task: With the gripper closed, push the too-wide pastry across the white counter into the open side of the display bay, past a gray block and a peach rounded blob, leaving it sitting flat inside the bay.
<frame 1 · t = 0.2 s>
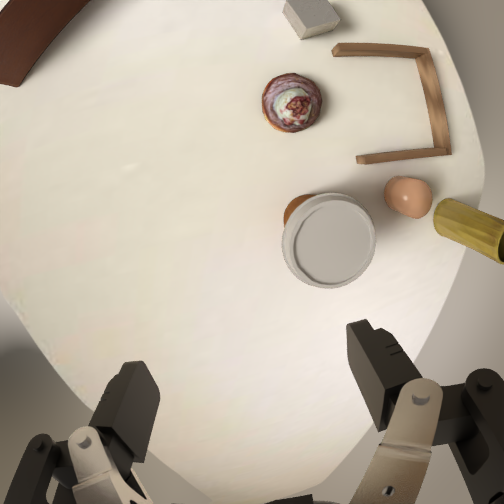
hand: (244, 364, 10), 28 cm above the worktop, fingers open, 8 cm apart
letter holder: (44, 28, 26), on the worktop
display bay: (390, 102, 32), on the worktop
pastry: (290, 103, 33), on the worktop
peach rounded blob: (399, 193, 37), on the worktop
gray block: (307, 21, 29), on the worktop
vase: (446, 216, 38), on the worktop
disposable coffee cup: (306, 218, 38), on the worktop
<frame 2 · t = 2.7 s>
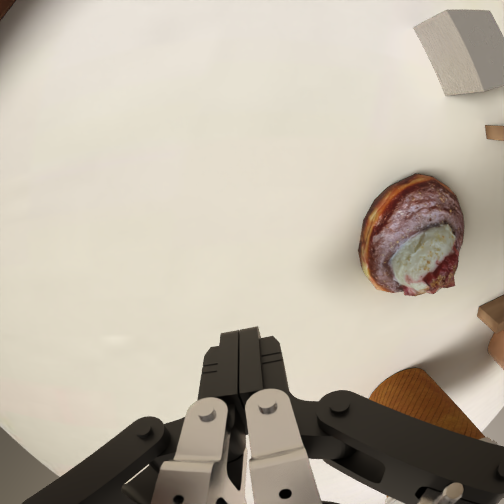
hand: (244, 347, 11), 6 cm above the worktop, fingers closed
pastry: (405, 230, 17), on the worktop
peach rounded blob: (503, 336, 21), on the worktop
gray block: (451, 56, 12), on the worktop
disposable coffee cup: (397, 391, 22), on the worktop
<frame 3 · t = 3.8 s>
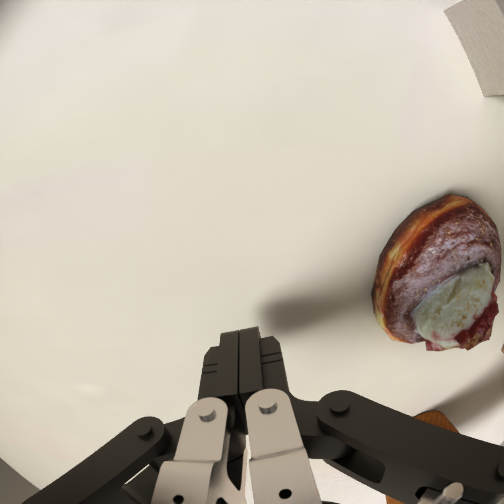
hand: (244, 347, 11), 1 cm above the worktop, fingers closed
pastry: (430, 265, 13), on the worktop
gray block: (487, 49, 8), on the worktop
disposable coffee cup: (410, 433, 18), on the worktop
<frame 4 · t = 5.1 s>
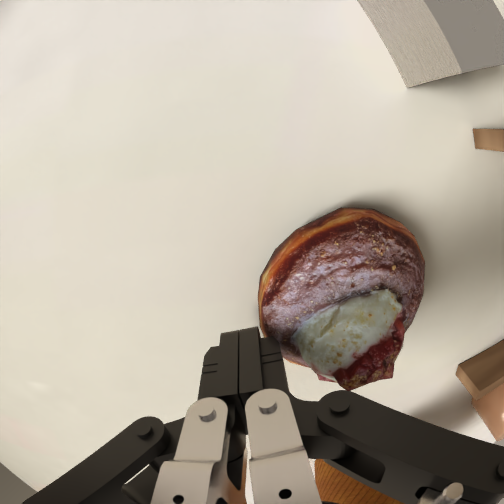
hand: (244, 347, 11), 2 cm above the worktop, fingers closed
pastry: (336, 285, 13), on the worktop
peach rounded blob: (491, 385, 17), on the worktop
gray block: (418, 32, 9), on the worktop
disposable coffee cup: (352, 452, 18), on the worktop
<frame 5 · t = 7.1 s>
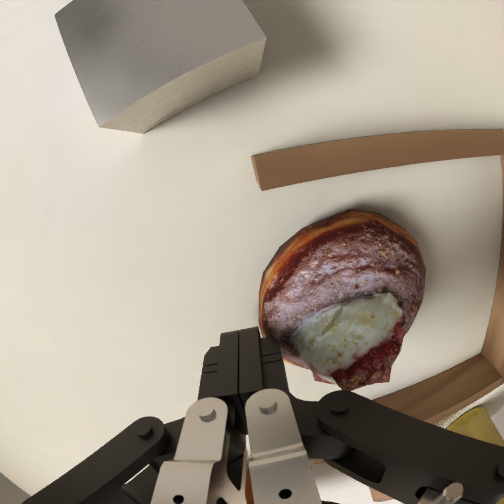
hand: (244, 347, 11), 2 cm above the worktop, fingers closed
display bay: (420, 296, 13), on the worktop
pastry: (337, 287, 13), on the worktop, touching gripper
gray block: (173, 54, 9), on the worktop
vase: (459, 425, 19), on the worktop
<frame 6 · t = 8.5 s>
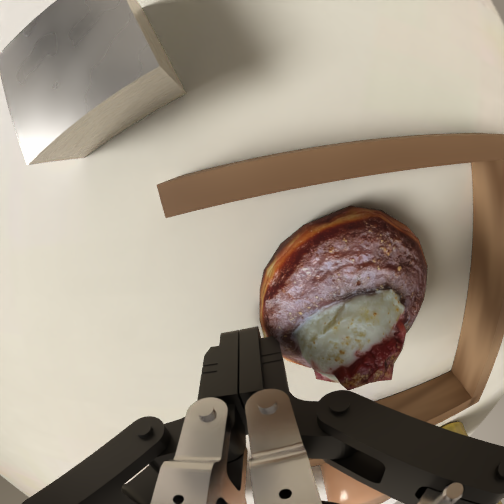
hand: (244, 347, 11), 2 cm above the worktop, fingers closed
display bay: (371, 314, 13), on the worktop
pastry: (338, 284, 13), on the worktop
peach rounded blob: (350, 450, 17), on the worktop
gray block: (110, 78, 9), on the worktop
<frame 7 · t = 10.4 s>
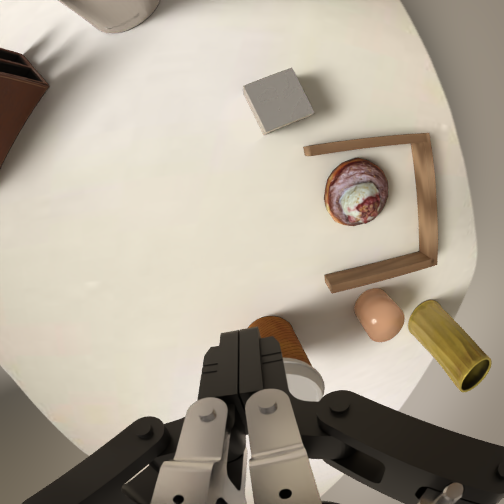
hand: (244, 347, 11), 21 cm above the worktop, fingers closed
letter holder: (1, 125, 26), on the worktop
display bay: (372, 207, 32), on the worktop
pastry: (353, 191, 31), on the worktop
peach rounded blob: (371, 305, 36), on the worktop
gray block: (275, 105, 28), on the worktop
vase: (423, 317, 37), on the worktop
disposable coffee cup: (269, 335, 37), on the worktop
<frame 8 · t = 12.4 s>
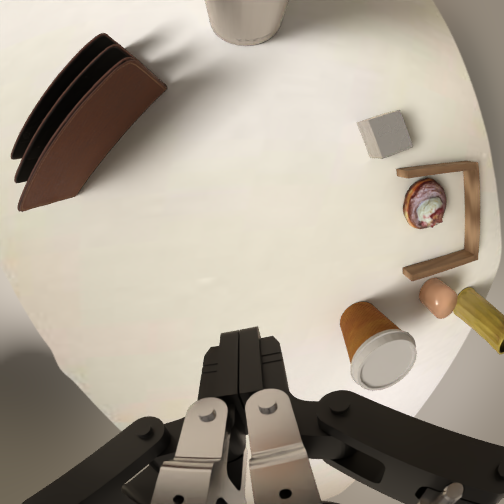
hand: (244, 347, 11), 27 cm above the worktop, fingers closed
letter holder: (96, 121, 32), on the worktop
display bay: (437, 215, 38), on the worktop
pastry: (421, 202, 37), on the worktop
peach rounded blob: (430, 291, 42), on the worktop
gray block: (378, 134, 34), on the worktop
vase: (463, 301, 44), on the worktop
disposable coffee cup: (357, 318, 43), on the worktop
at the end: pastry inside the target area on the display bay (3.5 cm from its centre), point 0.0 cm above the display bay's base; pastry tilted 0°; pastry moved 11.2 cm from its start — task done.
